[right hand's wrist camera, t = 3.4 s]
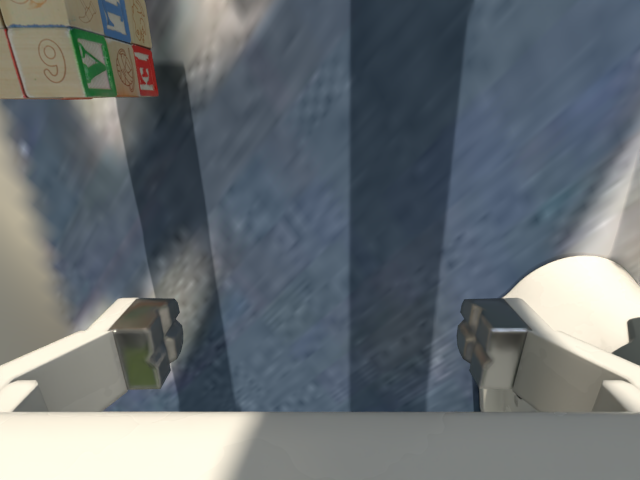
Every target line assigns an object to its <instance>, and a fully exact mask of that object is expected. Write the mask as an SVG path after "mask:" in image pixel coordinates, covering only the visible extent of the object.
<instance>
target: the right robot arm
mask: <svg viewBox="0 0 640 480" xmlns="http://www.w3.org/2000/svg"><path fill="white" fill-rule="evenodd" d="M179 313H180V311H179V307H178V302H177V301H176V300H175V299H163V298H120V299H118V300H117V301H115V302H114V303H113V304H112V305H111V306H110V307H109V308H108V309H107V310H106V311H105V312H104V313H103V314H102V315H101V316H100V317H99V318H98V319H97V320H96V321H95V322H94V323H93V324H92V325H91V326H90V327H89V328H88V329H87V330H86V331H78V332H76V333H74V334H72V335H69V336H67V337H65V338H62V339H60V340H58V341H56V342H53V343H51V344H49V345H47V346H44V347H42V348H40V349H38V350H35V351H33V352H31V353H28V354H26V355H24V356H21V357H19V358H17V359H15V360H12V361H10V362H8V363H5V364H3V365H1V366H0V480H640V286H639V285H638V284H637V283H636V282H635V280H634V279H633V278H632V277H631V275H630V274H629V273H628V272H627V271H626V270H625V269H624V268H623V267H622V266H620V265H619V264H617V263H615V262H613V261H611V260H609V259H606V258H602V257H597V256H573V257H567V258H563V259H559V260H556V261H553V262H551V263H548V264H546V265H544V266H542V267H540V268H538V269H536V270H535V271H533V272H532V273H530V274H529V275H527V276H526V277H525V278H524V279H522V280H521V281H520V282H519V283H518V284H517V285H516V286H515V287H514V288H513V289H512V290H511V291H510V292H509V293H508V294H507V295H505V296H504V297H503V298H492V299H464V301H463V303H462V306H461V311H460V313H461V314H462V316H463V317H464V320H463V321H462V322H461V323H460V324H459V325H458V330H457V345H458V349H459V352H460V354H461V356H462V358H463V359H464V360H466V361H467V362H469V363H470V369H469V371H470V373H471V374H472V376H473V378H474V380H475V382H476V383H477V385H478V387H479V397H480V410H481V412H102V411H103V410H104V409H106V408H107V407H108V406H109V405H111V404H112V403H113V402H115V401H116V400H117V399H118V398H120V397H121V396H122V395H123V394H125V393H126V392H127V390H134V389H161V387H162V385H163V383H164V382H165V380H166V378H167V376H168V374H169V373H170V371H171V369H170V363H171V362H173V361H174V360H176V359H177V358H178V356H179V354H180V352H181V348H182V344H183V329H182V325H181V324H180V323H179V322H178V321H177V320H176V317H177V316H178V314H179Z"/></svg>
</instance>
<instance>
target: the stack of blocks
mask: <svg viewBox="0 0 640 480" xmlns="http://www.w3.org/2000/svg"><path fill="white" fill-rule="evenodd" d="M151 48H152V44H151V37H150V31H149V24H148V18H147V11H146V6H145V1H144V0H0V99H92V98H102V97H156V96H159V94H158V88H157V82H156V76H155V70H154V64H153V59H152V52H151V50H150V49H151Z"/></svg>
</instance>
